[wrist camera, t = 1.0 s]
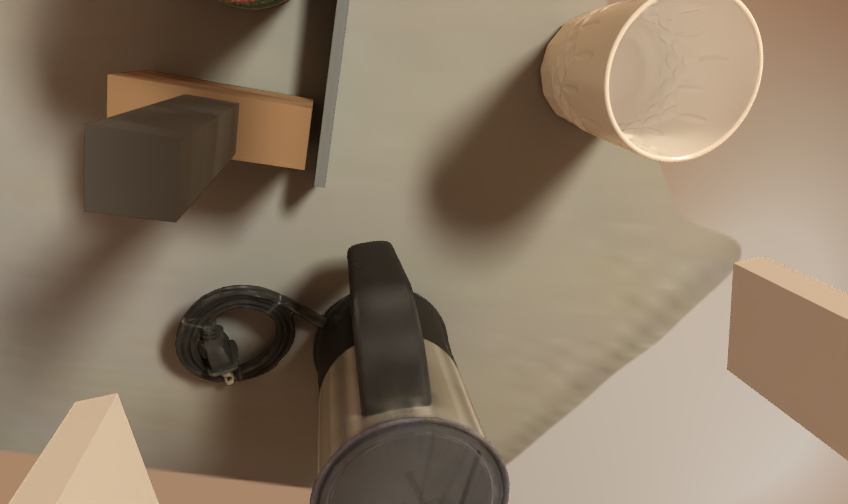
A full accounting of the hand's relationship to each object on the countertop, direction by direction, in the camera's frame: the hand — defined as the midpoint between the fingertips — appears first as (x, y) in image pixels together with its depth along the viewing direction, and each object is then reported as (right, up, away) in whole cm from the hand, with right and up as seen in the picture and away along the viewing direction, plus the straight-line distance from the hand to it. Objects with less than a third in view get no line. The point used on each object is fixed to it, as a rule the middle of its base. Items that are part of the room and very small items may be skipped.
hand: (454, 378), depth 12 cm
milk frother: (-7, -3, +27) cm, 28 cm away
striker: (-12, +11, +21) cm, 26 cm away
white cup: (+10, +14, +24) cm, 29 cm away
